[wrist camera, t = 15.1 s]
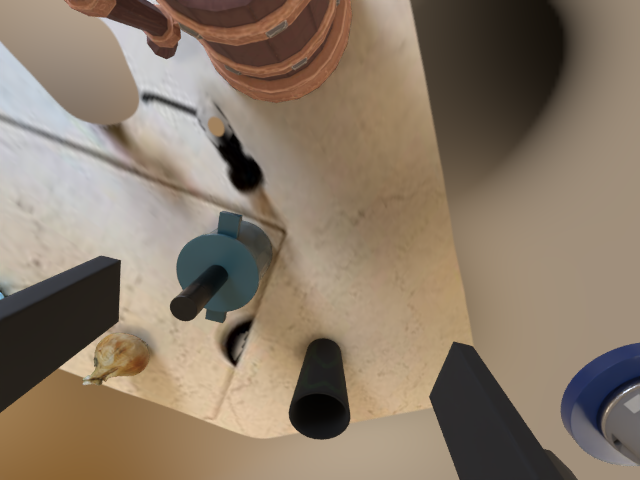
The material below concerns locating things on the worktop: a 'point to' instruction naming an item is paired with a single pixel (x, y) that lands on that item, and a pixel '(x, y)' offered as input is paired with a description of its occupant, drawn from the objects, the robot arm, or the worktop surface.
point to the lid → (214, 276)
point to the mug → (245, 38)
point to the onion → (118, 358)
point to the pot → (251, 239)
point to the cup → (321, 393)
